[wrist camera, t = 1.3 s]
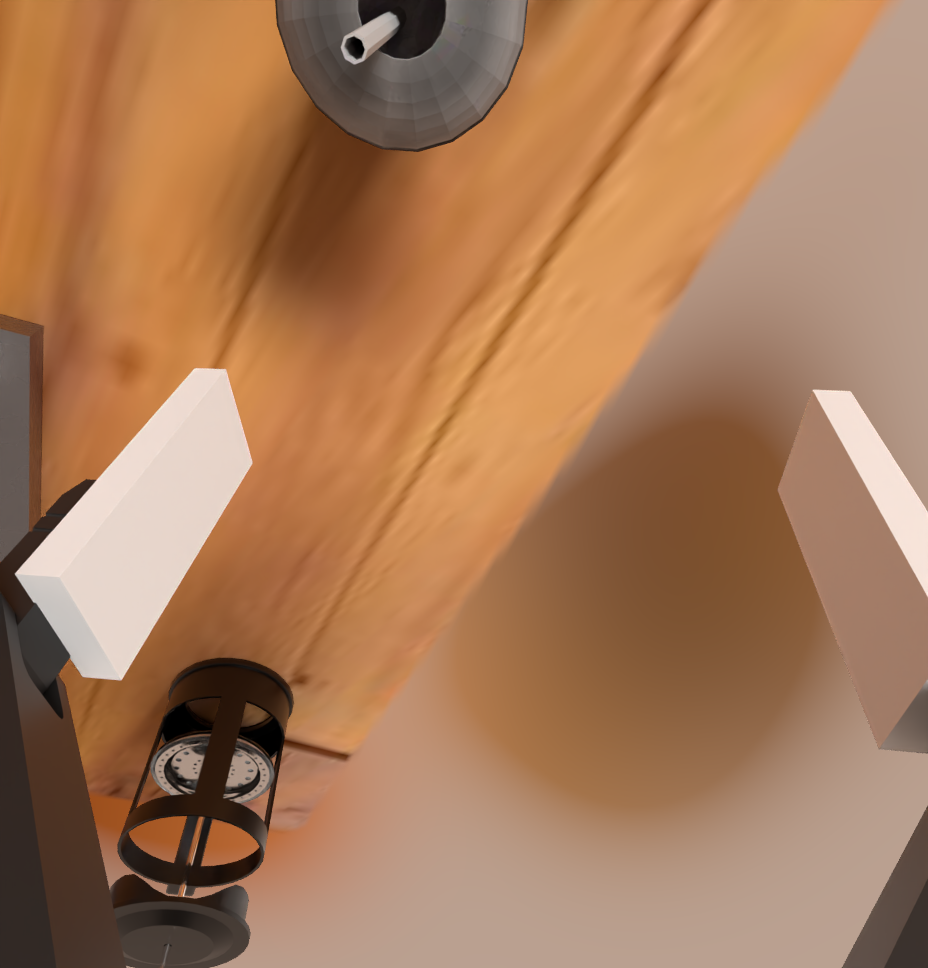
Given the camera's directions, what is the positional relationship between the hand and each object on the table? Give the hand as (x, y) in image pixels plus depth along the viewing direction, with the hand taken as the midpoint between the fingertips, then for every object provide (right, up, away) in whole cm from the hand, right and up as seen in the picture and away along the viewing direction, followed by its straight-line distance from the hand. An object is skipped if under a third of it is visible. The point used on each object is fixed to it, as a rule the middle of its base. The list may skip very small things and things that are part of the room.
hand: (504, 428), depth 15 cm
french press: (-19, -18, +37) cm, 46 cm away
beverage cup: (-4, +19, +13) cm, 23 cm away
